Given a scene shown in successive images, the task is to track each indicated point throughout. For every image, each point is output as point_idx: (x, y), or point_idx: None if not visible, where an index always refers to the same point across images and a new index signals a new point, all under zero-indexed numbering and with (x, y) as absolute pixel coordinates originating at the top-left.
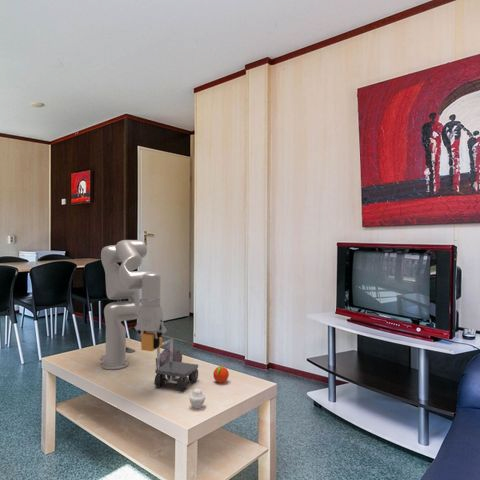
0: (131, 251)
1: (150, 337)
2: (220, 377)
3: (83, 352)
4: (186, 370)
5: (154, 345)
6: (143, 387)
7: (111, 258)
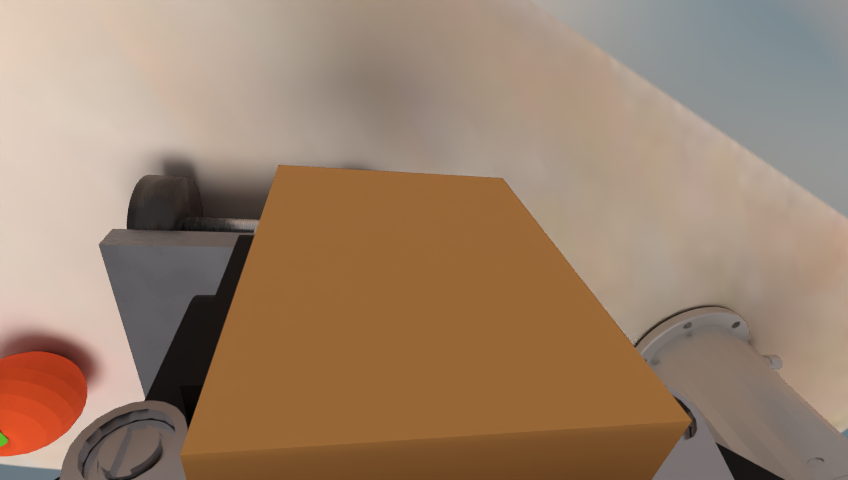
0: None
1: (288, 366)
2: None
3: (840, 408)
4: (148, 313)
5: (237, 264)
6: (445, 170)
7: None
